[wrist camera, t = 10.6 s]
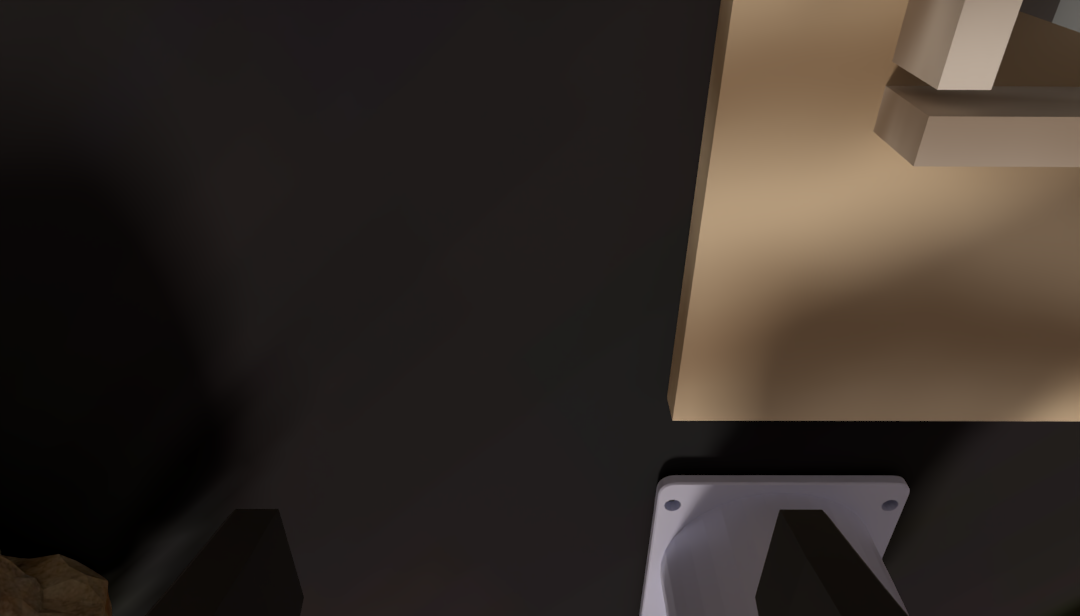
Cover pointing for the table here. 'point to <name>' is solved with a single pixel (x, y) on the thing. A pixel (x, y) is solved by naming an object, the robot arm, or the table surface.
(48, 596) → the rough brown rock
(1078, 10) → the peg
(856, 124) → the birch board
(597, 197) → the table surface
